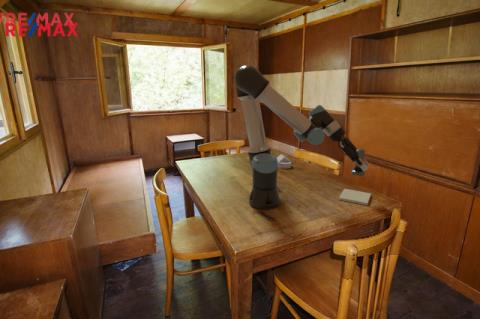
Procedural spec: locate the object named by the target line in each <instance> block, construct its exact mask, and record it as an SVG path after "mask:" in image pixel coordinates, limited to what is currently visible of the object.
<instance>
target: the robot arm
mask: <svg viewBox="0 0 480 319" xmlns="http://www.w3.org/2000/svg"><path fill="white" fill-rule="evenodd" d="M233 84H234V86H235V91H236V97H237V99H239V100H240V101H241V106H242V112H243V118H244V121H245V128H246V133H247V139H248V144H249V147H248V149H247V153H248V154H247V155H248V159H249V166H250V168H251V171H252V189H251V192H250V194H249V196H248V197H249V198H248V203H249V205H250V206H251V207H252V208H254V209H257V210H258V209H259V210H273V209H276V208H278V207H279V206H280V205H281V197H280V194H279V191H278V168H279V167H278V161H277V156H275V155H274V154H272V150H271V146H270V145H268V144H267V140H266V134H265V127H264V122H263V116H262V110H261V104H260V102H261V103H263V105H265V107H267V108H268V109H269V110H270V111H272V112H273V113H274V114H275V115H277V116H278V117H279V118H280V119H281V120H282V121H284V122H285V123H286V124H287V125H288V126H290V127H291V128H292V129H293V134H294V136H295V137H296V138H297V140H298V141H299V142H301V143H303V142H305V141H307V143H308V142H309V144H311V145H314V146H317V145H321V144H322V143H323V142H324V141H325V136H327V137H329V139H330V140H331V141H332V143H335V142H337V143H338V147H339V149H341V150H342V151H343V152H344V153H345V154H346V156H347V157H348V158H349V159H350V160H351V162H352V163H355V162H356V163H357V164H358V166H359V167H360V168H361V169H362V170H363V171H365V172H366V171H368V170H369V167H371V165H370V164H369V162H368V161H367V160H366V159H365V158H364V162H363V161H362V160H361V158H359V157H358V156H357V155H356V149H358V148H357V147H356V146H355V144H353V141H351V140H350V138H349V137H346V136H344V135H346V131H345V130H344V129H343V127H341V125H340V124H339V122H338V121H337V120H336V119H334V117H333V116H332V115H331V114H330V113H329V112H328V110H327V109H326V108H325V107H324V106H322V105H321V104H318V105H316V106H315V107H313V108H312V109H311V110H310V111H309V113H308V115H309V117H307V116H305V115H304V114H303V113H302V112H301V111H299V109H297V108H296V107H295V106H294V105H293V104H292V103H291V102H289V101H288V100H287V99H286V98H285V97H283V95H281V93H279V92H278V91H277V90H276V89H275V88H273V87H272V86H271V82H270V80H268V79H267V78H266V77H265V76H264V75H263V74H262V73H261V72H260V71H259V70H258V69H257V67H255V66H253V65H249V64H246V65H242V66H240V67H238V68H237V69H236V71H235V72H234V75H233Z"/></svg>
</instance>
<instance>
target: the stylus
mask: <svg viewBox="0 0 480 319" xmlns="http://www.w3.org/2000/svg"><path fill="white" fill-rule="evenodd" d="M356 155H357V156H358V157H359V158H361V160H362V161H363V162H364V159H365V156H366V150H365V149H363V148H357V149H356ZM353 166H354V167H353V168H351V169H350V174H351V175H352V176H357V177H358V176H359V177H363V176H365V175H366V171H363V170H362V169H361V168H360V167H359V166H358V164H357V163H356V162H355V161H354V164H353Z"/></svg>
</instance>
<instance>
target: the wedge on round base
mask: <svg viewBox="0 0 480 319" xmlns="http://www.w3.org/2000/svg"><path fill="white" fill-rule="evenodd" d="M276 158H277V162H278V167H277V168H279V169H283V170H284V169H286V170H287V169H290V168H292V161H291V160H290V159H289V158H288V157H286V156H285V155H284V154H279V155H278V156H276Z"/></svg>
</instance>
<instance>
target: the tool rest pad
mask: <svg viewBox="0 0 480 319" xmlns="http://www.w3.org/2000/svg"><path fill="white" fill-rule="evenodd" d="M371 196H372V193H370V192H364V191H359V190H353V189H349V188H344V189H343V190H342V192H341V193H340V195H339V198H338V200H340V201H344V202H349V203H353V204H359V205H363V206H368V204H369V202H370V198H371Z"/></svg>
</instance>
